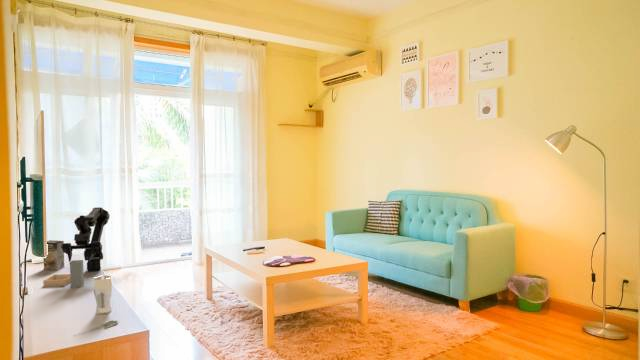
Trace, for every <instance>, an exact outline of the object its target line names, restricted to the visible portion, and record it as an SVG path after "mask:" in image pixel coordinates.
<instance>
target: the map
mask: <svg viewBox="0 0 640 360" xmlns="http://www.w3.org/2000/svg"><path fill="white" fill-rule="evenodd" d="M116 324H118V320H109V321H107V322H105V323H103V324H101V325H100V327H103V329H104V330H106V329H107V330H108V329H109V328H111V327H113V326H116ZM73 335H74V336H75V334H73Z"/></svg>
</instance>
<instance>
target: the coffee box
mask: <svg viewBox="0 0 640 360" xmlns="http://www.w3.org/2000/svg"><path fill="white" fill-rule="evenodd" d="M46 242H47V244H48V255H47V257H46V258H43V257H42V259H43V270H52V271H54V270H55V271H56V270H60V269H63V268H65V253H64V252H63V250H62V248H61V246H62V244H63V243H65V242H64V240H50V239H49V240H48V241H46Z"/></svg>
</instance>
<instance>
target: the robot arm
mask: <svg viewBox="0 0 640 360" xmlns="http://www.w3.org/2000/svg"><path fill="white" fill-rule="evenodd" d="M109 220H110V213H109V211H108V210H106V209H104V208H103V207H100V206H99V207H97V206H96V207H93V208H92V210H91V211H90V212H89V213H88V214H87V215H79V216H78V217H77V218H76V219H74V222H73V223H74V225H75V228H76V229H77V231H78V233H75V234H74V239H73V241H75V242H74V243H75V245H74V244H73V245H72V243H71V242H66V243H65V242H64V243H63V244H62V246H61V248H62V250H63V252H64V254H66V255H67V257H68V258H67V259H68V262H69V263H70V262H71V261H72V257H73V250H84V251H83V257H84V261H87V262H86V270H87V272H96V271H97V272H98V271H101V269H102V267H101V266H102V265H101V260H104V253H103V251H102V250H103V244H102V242H101V239H102V234H103V232H104V231H103V230H104V227H105V226H106V225H107V224H108V223H109ZM93 227H94V229H92V228H93ZM92 230H93V232H92ZM91 235H92V236H91Z"/></svg>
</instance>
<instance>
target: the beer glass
mask: <svg viewBox="0 0 640 360" xmlns="http://www.w3.org/2000/svg"><path fill="white" fill-rule="evenodd" d="M111 277H112V276H111V275H99V276H96V277H94V278H93V293H94V299H95V301H96V302H95V303H96V309H95V314H97V315H106V314H108V313H111V311H112V306H111V298H112V297H111V296H112V290H113V289H112V288H113V286H112V278H111Z"/></svg>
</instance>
